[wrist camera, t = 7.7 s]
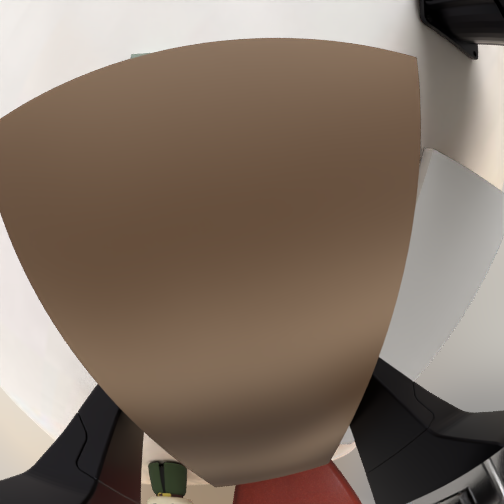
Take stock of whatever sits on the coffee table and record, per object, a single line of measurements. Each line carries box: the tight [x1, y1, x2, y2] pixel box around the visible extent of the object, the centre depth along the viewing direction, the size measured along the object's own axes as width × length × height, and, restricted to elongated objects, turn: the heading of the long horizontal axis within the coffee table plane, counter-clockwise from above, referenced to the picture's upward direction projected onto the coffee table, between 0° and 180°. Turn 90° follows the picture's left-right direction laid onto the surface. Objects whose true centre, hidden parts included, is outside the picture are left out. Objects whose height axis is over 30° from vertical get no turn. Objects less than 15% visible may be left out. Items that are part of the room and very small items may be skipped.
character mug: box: [147, 462, 193, 504], centre depth 26 cm, size 11×7×13 cm, turn 95°
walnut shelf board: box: [0, 38, 421, 487], centre depth 8 cm, size 16×6×4 cm, turn 7°
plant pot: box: [233, 460, 362, 504], centre depth 30 cm, size 19×19×17 cm
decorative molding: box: [340, 148, 504, 444], centre depth 23 cm, size 34×5×10 cm
